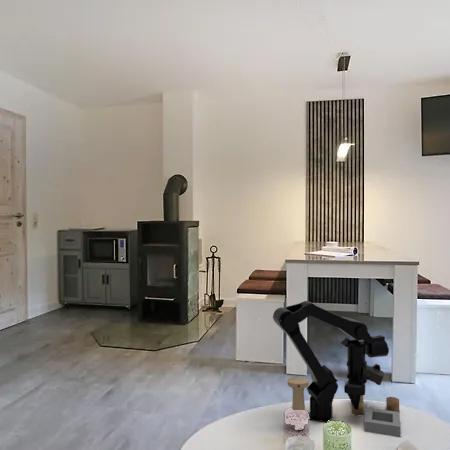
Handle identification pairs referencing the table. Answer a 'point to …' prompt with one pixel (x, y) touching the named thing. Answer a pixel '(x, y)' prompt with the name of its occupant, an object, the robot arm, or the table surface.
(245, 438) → the table surface
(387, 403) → the short peg
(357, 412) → the long peg
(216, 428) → the table surface
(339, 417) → the table surface
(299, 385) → the handle
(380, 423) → the block
